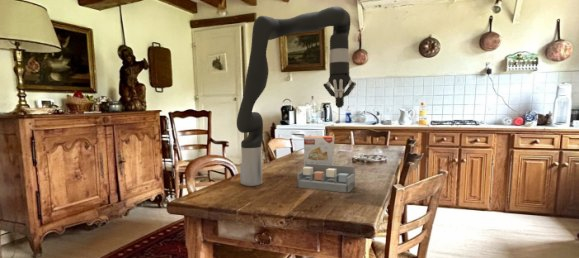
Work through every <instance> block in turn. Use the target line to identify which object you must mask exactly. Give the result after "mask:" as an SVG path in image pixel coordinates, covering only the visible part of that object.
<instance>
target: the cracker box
mask: <svg viewBox="0 0 579 258" xmlns="http://www.w3.org/2000/svg"><path fill="white" fill-rule="evenodd" d="M305 163H311V164H326V165H335V136H333V135H305V136H303V165H304V167H305ZM304 167H303V168H304Z"/></svg>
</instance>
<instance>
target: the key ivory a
mask: <svg viewBox="0 0 579 258" xmlns="http://www.w3.org/2000/svg"><path fill="white" fill-rule="evenodd" d="M302 171H303V175H310V174H312V173H313V167H302Z"/></svg>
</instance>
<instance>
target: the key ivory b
mask: <svg viewBox="0 0 579 258" xmlns="http://www.w3.org/2000/svg"><path fill="white" fill-rule="evenodd" d="M336 175H337V169H332V168H329V169H327V170H326V177H334V176H336Z"/></svg>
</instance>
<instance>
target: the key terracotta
mask: <svg viewBox="0 0 579 258" xmlns="http://www.w3.org/2000/svg"><path fill="white" fill-rule="evenodd" d="M324 174H325V172H320V171H317V172H315V173H314V180H322V175H324Z"/></svg>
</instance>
